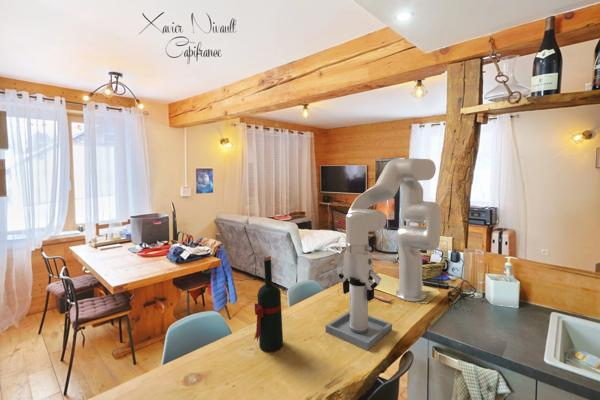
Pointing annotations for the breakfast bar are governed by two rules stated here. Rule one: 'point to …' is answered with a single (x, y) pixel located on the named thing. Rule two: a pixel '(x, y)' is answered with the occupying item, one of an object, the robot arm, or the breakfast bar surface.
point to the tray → (362, 340)
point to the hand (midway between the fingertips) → (358, 296)
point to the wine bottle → (269, 313)
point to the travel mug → (358, 306)
